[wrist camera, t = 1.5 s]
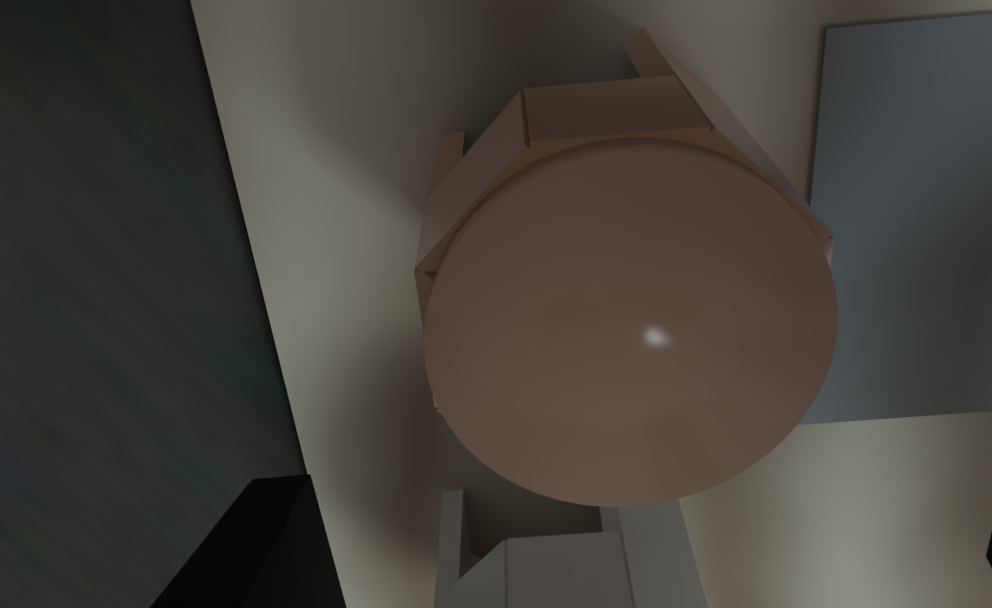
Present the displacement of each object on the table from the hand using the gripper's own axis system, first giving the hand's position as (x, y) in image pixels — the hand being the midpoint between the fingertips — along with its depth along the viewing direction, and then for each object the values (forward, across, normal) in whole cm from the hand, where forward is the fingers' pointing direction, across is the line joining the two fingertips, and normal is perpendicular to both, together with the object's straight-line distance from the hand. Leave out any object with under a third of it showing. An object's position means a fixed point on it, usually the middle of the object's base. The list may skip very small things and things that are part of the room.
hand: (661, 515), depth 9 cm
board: (+10, -4, +6) cm, 13 cm away
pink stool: (+10, 0, 0) cm, 10 cm away
